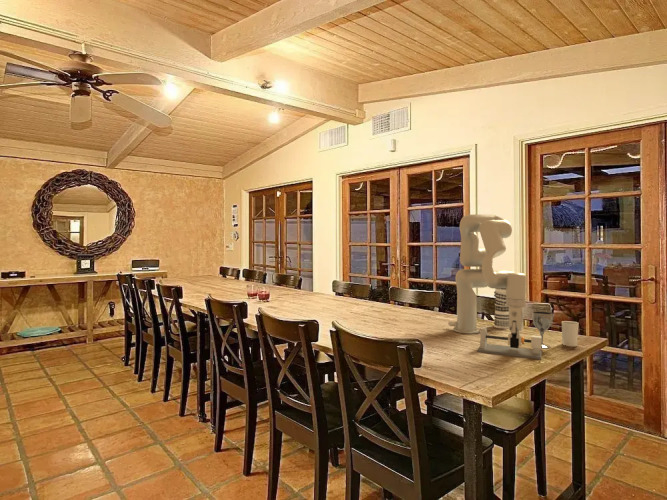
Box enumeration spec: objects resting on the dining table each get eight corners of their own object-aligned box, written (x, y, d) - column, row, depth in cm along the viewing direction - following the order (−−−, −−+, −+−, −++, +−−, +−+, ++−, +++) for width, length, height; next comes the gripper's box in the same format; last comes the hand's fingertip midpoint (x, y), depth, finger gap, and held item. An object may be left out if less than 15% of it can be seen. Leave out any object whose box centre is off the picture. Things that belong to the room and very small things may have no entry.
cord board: (477, 351, 182) (477, 330, 182) (482, 345, 193) (482, 325, 192) (540, 359, 171) (541, 336, 171) (542, 352, 182) (542, 330, 181)
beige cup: (580, 347, 191) (580, 324, 190) (563, 346, 192) (564, 323, 192) (575, 343, 197) (575, 321, 197) (559, 342, 198) (559, 320, 198)
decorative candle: (508, 325, 236) (509, 279, 235) (514, 329, 227) (515, 281, 226) (491, 324, 237) (492, 279, 236) (496, 328, 228) (496, 281, 227)
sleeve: (507, 344, 180) (508, 335, 180) (508, 342, 184) (509, 333, 184) (521, 346, 178) (521, 336, 178) (521, 344, 181) (522, 334, 181)
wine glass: (549, 344, 194) (550, 311, 194) (553, 349, 187) (554, 314, 186) (530, 343, 197) (531, 310, 196) (533, 347, 189) (534, 313, 188)
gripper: (524, 306, 171) (523, 352, 172) (527, 300, 186) (526, 343, 187) (503, 304, 175) (502, 350, 175) (508, 299, 189) (507, 341, 190)
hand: (514, 346), depth 181 cm, fingers closed on sleeve, 4 cm apart
